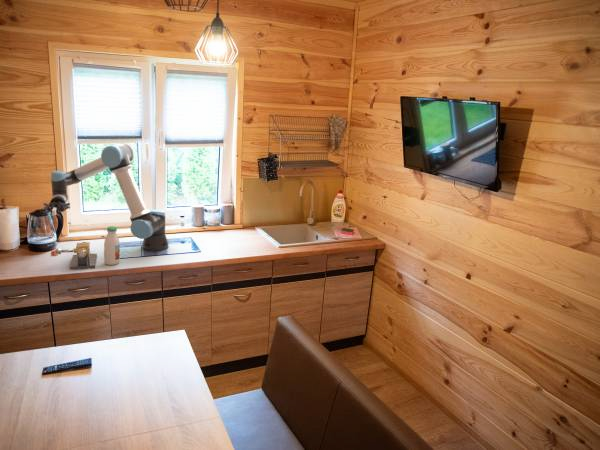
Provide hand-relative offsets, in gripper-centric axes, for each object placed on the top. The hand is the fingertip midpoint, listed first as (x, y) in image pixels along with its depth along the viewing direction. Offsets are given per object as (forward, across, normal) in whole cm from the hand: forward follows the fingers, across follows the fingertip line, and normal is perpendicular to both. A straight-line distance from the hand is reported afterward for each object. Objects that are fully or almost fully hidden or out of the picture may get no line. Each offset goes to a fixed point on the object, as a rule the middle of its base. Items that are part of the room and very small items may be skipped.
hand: (53, 213), depth 235 cm
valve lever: (-3, -3, -21) cm, 22 cm away
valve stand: (-1, -12, -28) cm, 31 cm away
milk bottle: (+2, -26, -28) cm, 39 cm away
